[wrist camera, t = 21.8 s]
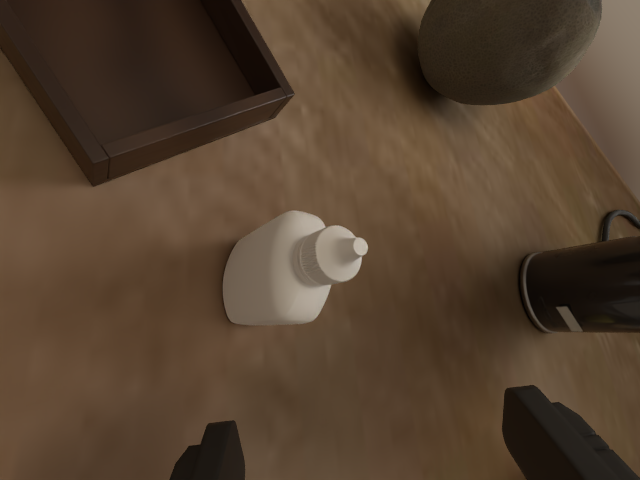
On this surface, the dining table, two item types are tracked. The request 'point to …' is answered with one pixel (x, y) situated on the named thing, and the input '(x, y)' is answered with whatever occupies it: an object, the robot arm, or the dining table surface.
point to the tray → (141, 75)
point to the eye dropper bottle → (288, 269)
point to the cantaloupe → (503, 46)
